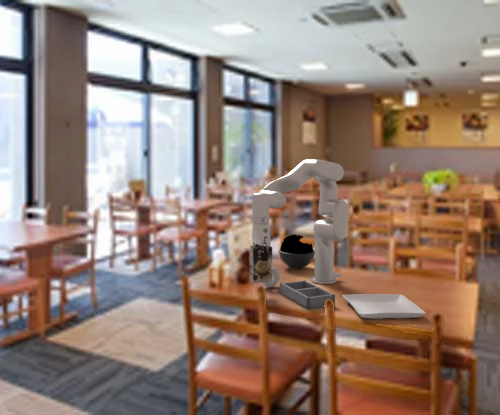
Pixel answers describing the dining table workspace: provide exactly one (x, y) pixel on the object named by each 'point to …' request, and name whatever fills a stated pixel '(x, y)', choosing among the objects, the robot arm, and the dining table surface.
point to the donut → (274, 279)
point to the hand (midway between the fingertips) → (260, 258)
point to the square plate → (384, 306)
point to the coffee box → (260, 265)
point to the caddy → (306, 294)
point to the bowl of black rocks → (296, 252)
